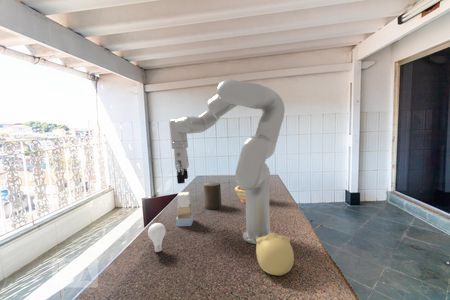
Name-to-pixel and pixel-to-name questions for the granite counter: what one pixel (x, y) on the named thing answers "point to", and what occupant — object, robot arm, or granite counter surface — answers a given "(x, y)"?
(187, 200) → the white block
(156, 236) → the lightbulb
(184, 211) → the tower mid
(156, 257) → the granite counter surface
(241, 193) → the potted cactus
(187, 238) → the granite counter surface
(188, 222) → the tower base
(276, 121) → the robot arm
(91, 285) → the granite counter surface
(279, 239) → the pale yellow rounded piece
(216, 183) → the pillar candle
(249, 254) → the granite counter surface
